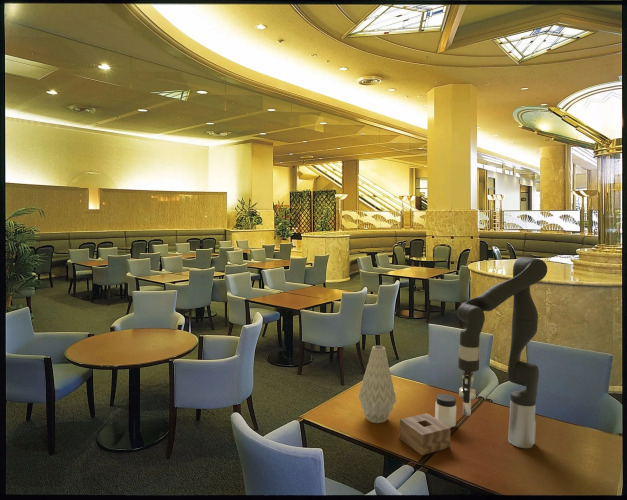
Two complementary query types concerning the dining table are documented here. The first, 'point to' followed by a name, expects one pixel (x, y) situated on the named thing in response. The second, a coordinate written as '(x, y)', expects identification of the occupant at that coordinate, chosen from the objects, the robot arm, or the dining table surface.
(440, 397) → the jar
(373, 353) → the vase
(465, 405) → the pin
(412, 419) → the pin block
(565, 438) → the dining table surface
